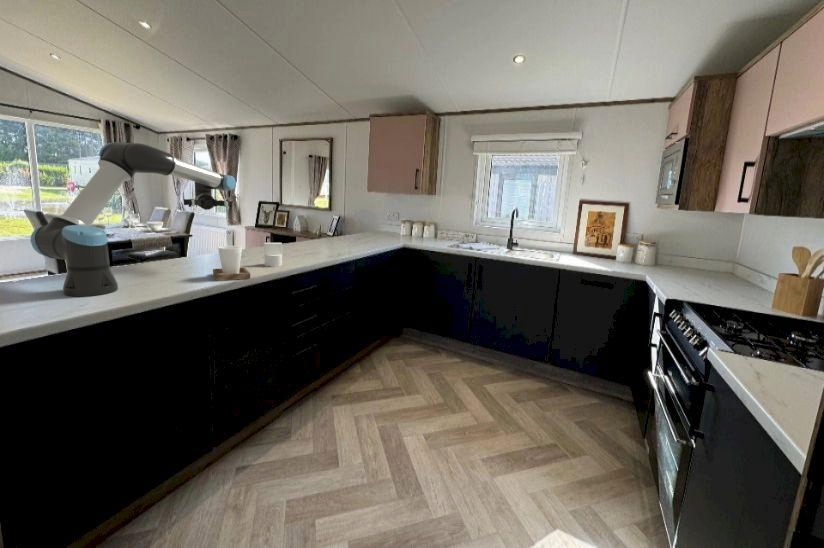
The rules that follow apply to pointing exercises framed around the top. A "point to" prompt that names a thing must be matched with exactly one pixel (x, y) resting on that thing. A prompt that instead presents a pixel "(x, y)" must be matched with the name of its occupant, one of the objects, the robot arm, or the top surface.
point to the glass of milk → (273, 254)
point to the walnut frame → (241, 275)
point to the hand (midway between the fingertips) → (210, 204)
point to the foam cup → (230, 258)
